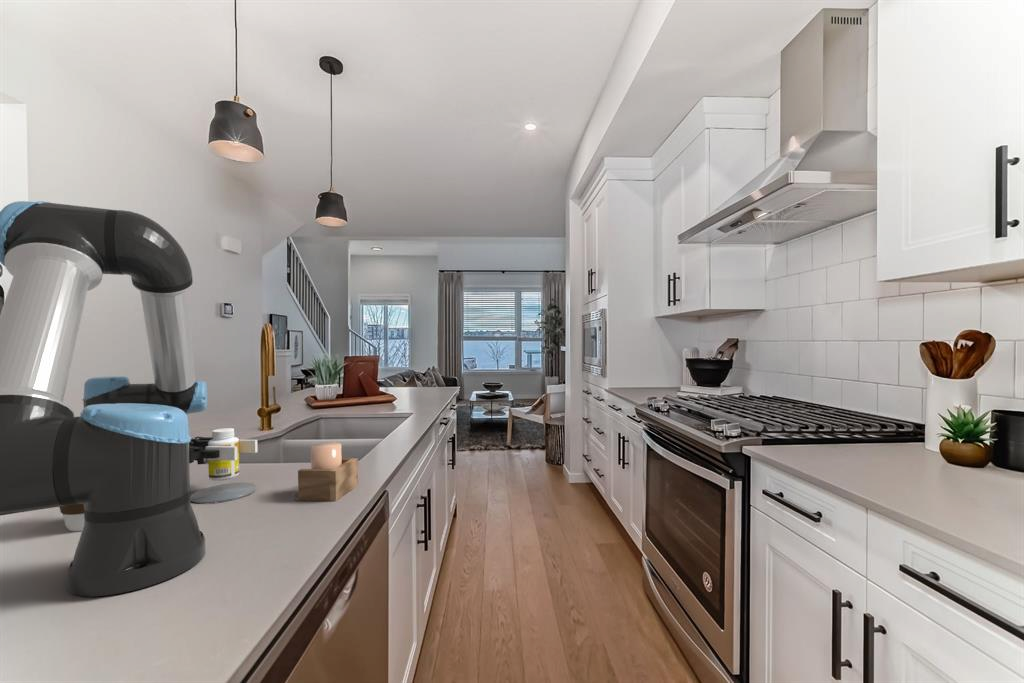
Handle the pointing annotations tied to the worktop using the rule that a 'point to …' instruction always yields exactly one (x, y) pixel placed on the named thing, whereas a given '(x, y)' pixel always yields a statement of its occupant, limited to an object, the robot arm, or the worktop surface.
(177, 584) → the worktop surface
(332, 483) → the wooden base
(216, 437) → the supplement bottle
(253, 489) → the slate coaster
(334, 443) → the peach cylinder
